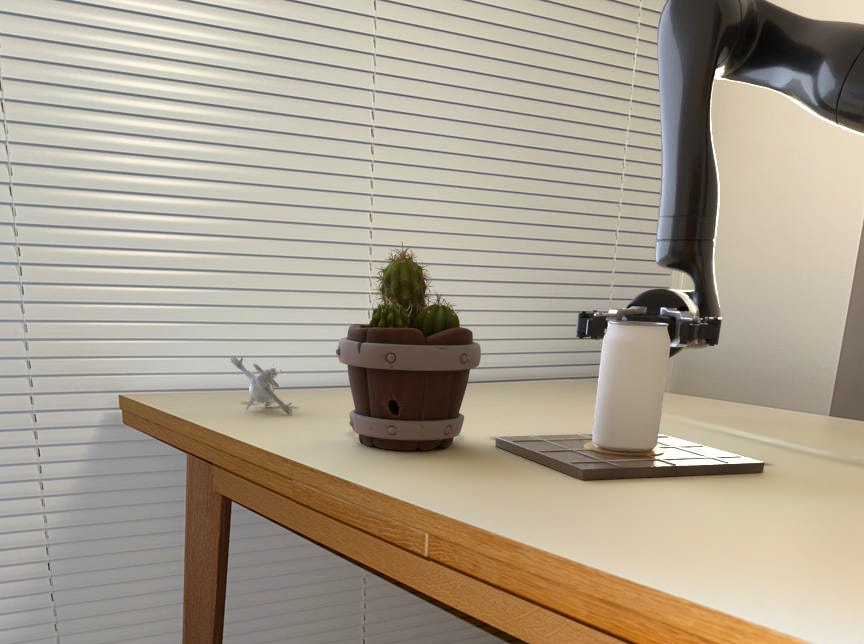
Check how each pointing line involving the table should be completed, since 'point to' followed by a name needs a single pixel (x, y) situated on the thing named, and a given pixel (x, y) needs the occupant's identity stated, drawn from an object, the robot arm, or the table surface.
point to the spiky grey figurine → (262, 385)
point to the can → (631, 386)
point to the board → (626, 458)
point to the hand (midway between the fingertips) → (639, 330)
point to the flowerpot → (408, 364)
